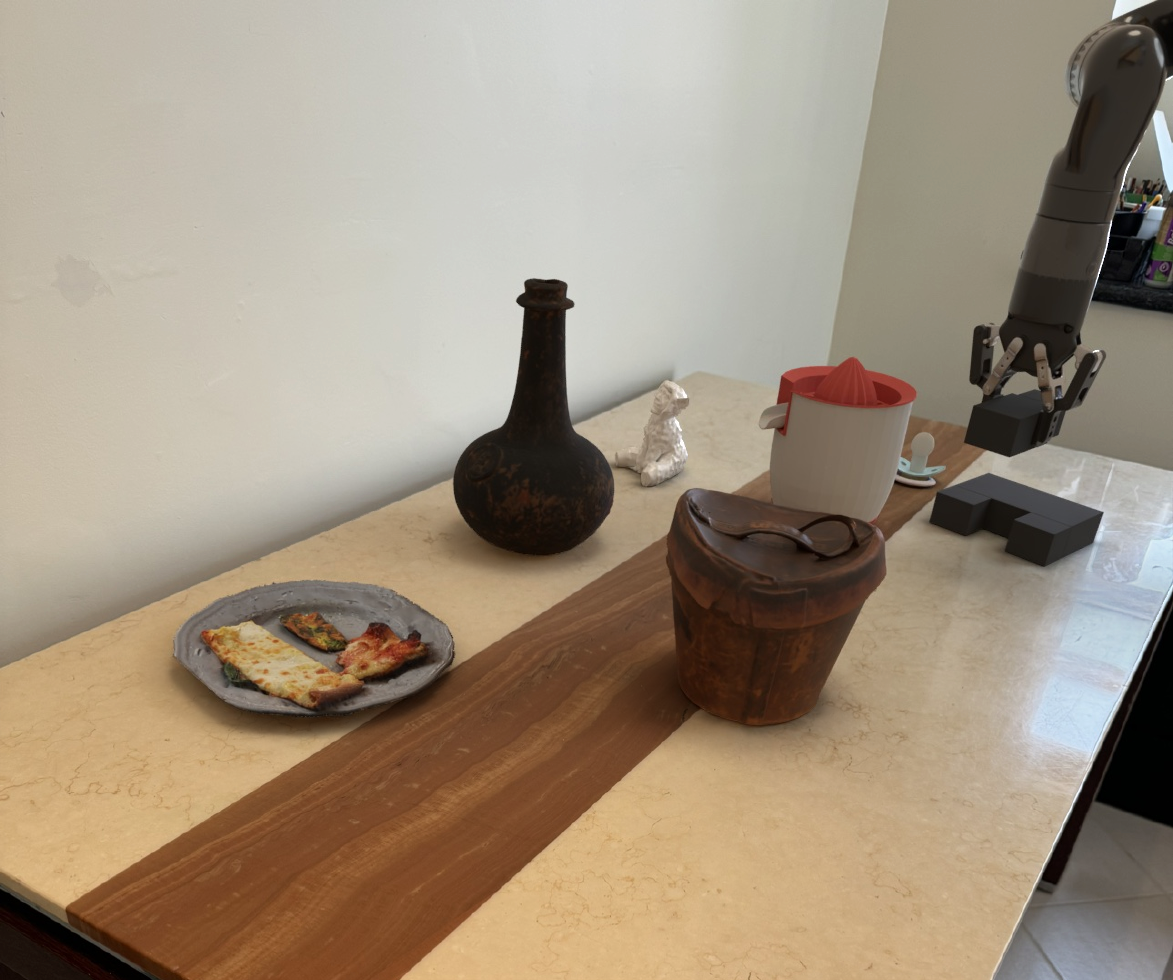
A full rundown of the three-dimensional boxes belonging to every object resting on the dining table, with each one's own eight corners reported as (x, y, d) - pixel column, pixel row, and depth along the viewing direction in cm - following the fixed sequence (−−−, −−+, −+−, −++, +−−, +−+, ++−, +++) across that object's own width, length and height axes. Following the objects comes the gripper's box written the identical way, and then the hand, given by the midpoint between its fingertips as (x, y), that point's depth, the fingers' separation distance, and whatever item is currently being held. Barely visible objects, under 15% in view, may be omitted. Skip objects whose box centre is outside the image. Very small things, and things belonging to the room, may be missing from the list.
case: (898, 713, 101) (947, 527, 90) (719, 766, 92) (750, 567, 82) (779, 628, 113) (809, 456, 103) (611, 668, 104) (626, 485, 94)
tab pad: (1064, 437, 122) (1075, 400, 119) (1009, 457, 115) (1020, 419, 112) (1019, 423, 125) (1029, 387, 122) (963, 442, 118) (973, 405, 116)
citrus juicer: (735, 497, 142) (758, 335, 130) (868, 502, 143) (902, 342, 132) (755, 547, 129) (782, 372, 118) (900, 552, 130) (941, 379, 119)
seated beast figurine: (610, 463, 150) (616, 373, 143) (664, 456, 153) (673, 367, 146) (645, 488, 143) (654, 394, 136) (701, 480, 146) (712, 388, 139)
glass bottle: (425, 528, 128) (418, 268, 112) (550, 500, 138) (560, 256, 121) (512, 587, 117) (518, 307, 101) (641, 552, 127) (665, 291, 110)
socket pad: (1093, 542, 136) (1104, 512, 134) (1044, 566, 130) (1054, 534, 127) (980, 501, 146) (988, 472, 143) (929, 521, 139) (936, 491, 137)
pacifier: (932, 493, 148) (944, 479, 152) (943, 448, 144) (956, 434, 148) (880, 481, 150) (893, 467, 155) (889, 436, 147) (903, 423, 151)
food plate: (502, 677, 102) (502, 643, 100) (278, 766, 88) (273, 730, 86) (351, 581, 116) (348, 549, 114) (138, 645, 103) (131, 611, 101)
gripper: (1146, 278, 107) (1090, 449, 117) (1013, 251, 115) (971, 413, 125) (1111, 286, 103) (1055, 463, 113) (975, 257, 111) (934, 425, 121)
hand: (1011, 436), depth 119 cm, fingers closed on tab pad, 5 cm apart
